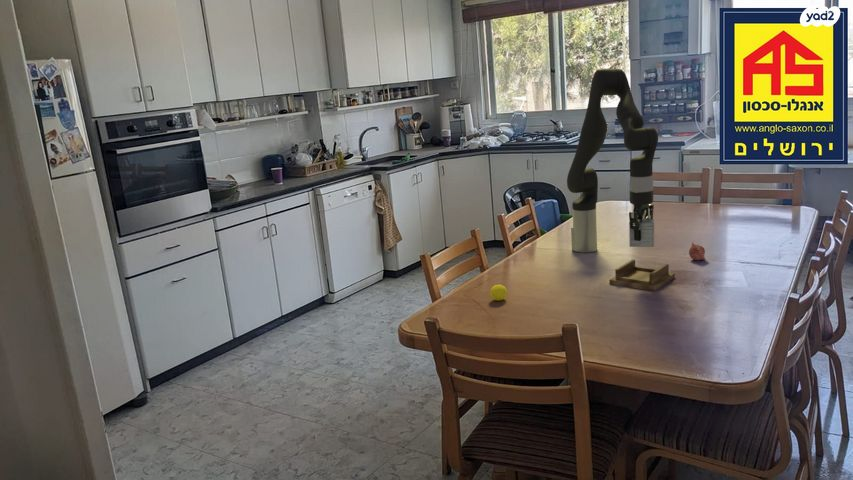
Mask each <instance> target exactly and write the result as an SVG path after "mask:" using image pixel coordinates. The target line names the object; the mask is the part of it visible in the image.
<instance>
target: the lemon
mask: <svg viewBox="0 0 853 480" xmlns="http://www.w3.org/2000/svg"><path fill="white" fill-rule="evenodd" d="M489 295H490V297H491V298H492V300H494V301H497V302H499V301H503V300H504V299H505V298H506V297H507V295H508V290H507V288H506V286H504V285H502V284H495V285H493V286H492V287H491V289H490V291H489Z"/></svg>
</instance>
